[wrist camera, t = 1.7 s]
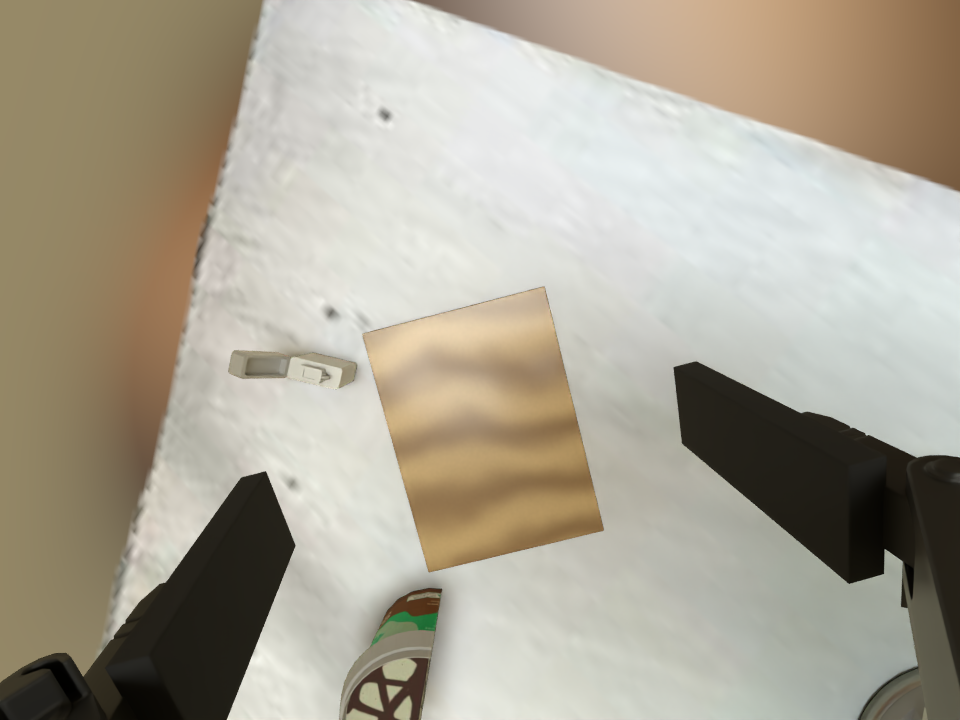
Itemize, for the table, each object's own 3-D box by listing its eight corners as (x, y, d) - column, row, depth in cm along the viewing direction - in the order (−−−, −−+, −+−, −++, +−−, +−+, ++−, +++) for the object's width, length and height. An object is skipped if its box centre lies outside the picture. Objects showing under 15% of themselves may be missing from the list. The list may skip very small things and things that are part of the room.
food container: (377, 562, 44) (344, 636, 34) (444, 573, 44) (431, 650, 34) (358, 688, 45) (321, 795, 35) (424, 699, 45) (406, 809, 35)
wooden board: (603, 529, 43) (603, 530, 43) (429, 570, 44) (428, 572, 43) (543, 286, 41) (544, 286, 41) (363, 333, 42) (362, 333, 41)
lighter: (357, 363, 42) (326, 374, 34) (353, 382, 42) (322, 398, 34) (277, 343, 42) (228, 350, 34) (273, 363, 42) (223, 374, 34)
